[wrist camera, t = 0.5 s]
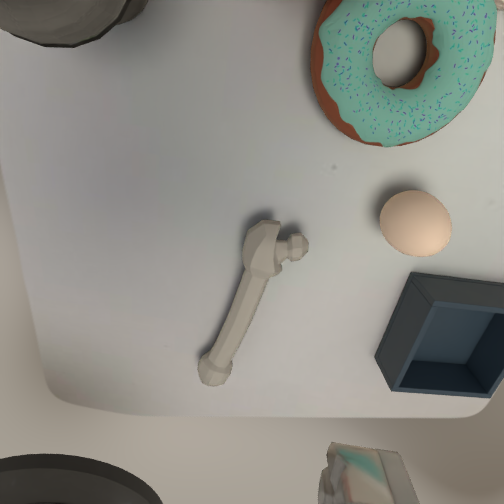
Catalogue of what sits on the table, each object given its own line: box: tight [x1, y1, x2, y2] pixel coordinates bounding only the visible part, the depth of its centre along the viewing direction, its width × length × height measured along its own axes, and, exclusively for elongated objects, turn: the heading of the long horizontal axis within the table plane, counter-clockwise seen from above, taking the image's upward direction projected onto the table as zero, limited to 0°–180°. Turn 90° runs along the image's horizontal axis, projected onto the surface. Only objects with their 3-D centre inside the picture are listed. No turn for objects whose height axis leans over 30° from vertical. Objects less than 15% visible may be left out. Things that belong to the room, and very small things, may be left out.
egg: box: [380, 190, 452, 257], centre depth 30 cm, size 5×5×7 cm
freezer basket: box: [375, 272, 504, 398], centre depth 38 cm, size 11×11×5 cm
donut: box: [310, 0, 497, 147], centre depth 25 cm, size 12×12×4 cm
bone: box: [198, 220, 309, 386], centre depth 35 cm, size 18×5×4 cm, turn 154°
